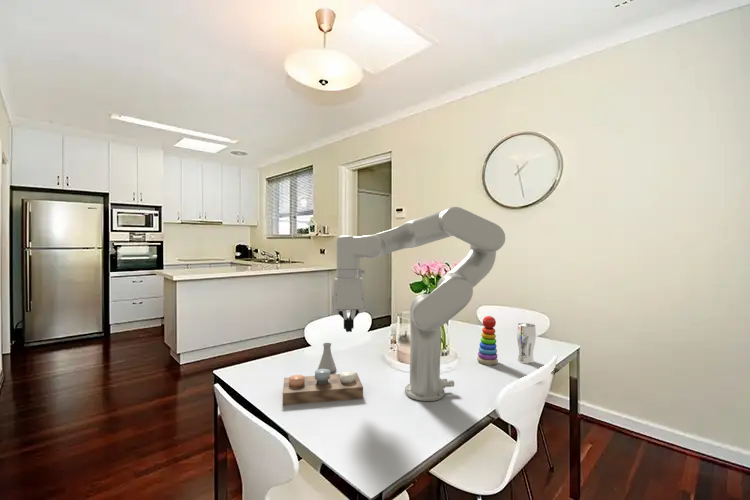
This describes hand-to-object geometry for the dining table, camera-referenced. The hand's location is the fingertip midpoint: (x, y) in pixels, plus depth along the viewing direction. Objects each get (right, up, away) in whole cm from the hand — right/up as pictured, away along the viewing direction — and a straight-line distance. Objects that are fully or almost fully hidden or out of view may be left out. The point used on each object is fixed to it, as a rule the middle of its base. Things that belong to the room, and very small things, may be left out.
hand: (348, 330), depth 116 cm
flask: (-9, -19, +19) cm, 28 cm away
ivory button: (0, -19, 0) cm, 19 cm away
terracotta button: (-16, -19, -3) cm, 25 cm away
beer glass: (+70, -20, +31) cm, 79 cm away
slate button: (-8, -18, -2) cm, 20 cm away
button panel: (-8, -19, -1) cm, 21 cm away
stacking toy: (+54, -19, +29) cm, 64 cm away
